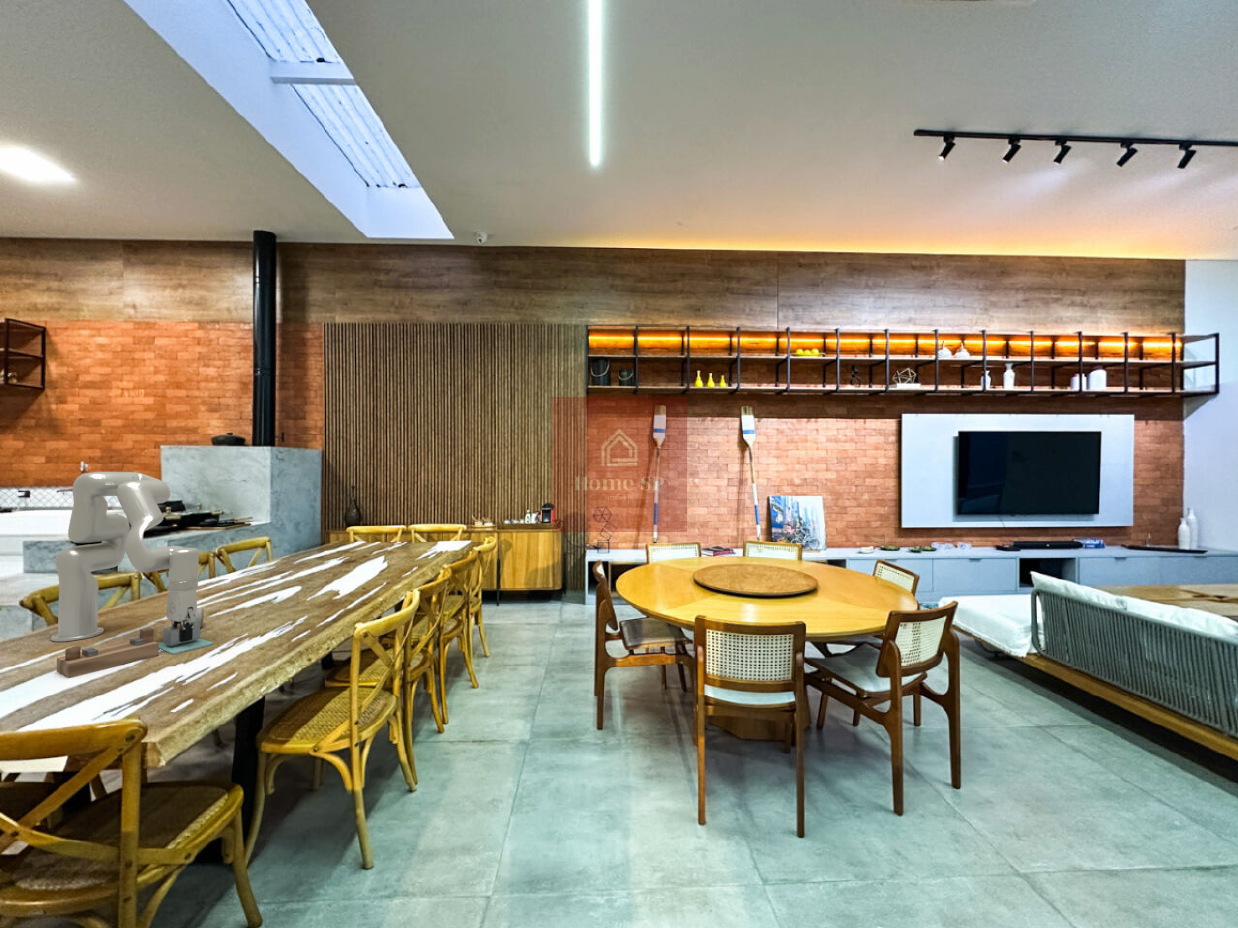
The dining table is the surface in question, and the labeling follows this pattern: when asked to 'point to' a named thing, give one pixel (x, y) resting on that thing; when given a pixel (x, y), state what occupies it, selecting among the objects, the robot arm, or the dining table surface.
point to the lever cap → (174, 634)
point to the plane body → (107, 655)
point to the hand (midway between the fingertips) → (182, 638)
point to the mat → (184, 646)
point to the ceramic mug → (199, 616)
